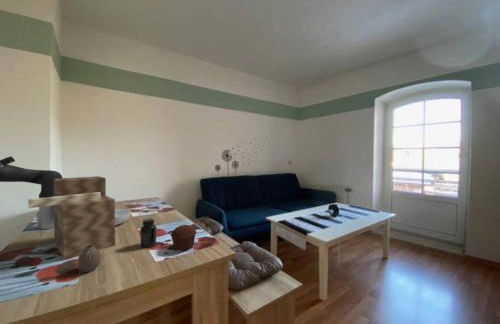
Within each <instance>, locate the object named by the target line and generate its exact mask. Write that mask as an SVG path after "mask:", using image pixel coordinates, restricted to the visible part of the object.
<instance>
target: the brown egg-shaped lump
mask: <svg viewBox="0 0 500 324" xmlns="http://www.w3.org/2000/svg"><path fill="white" fill-rule="evenodd" d="M101 260H102V254H101V252H100V250H97V249H96V248H95V247H94V246H93V245H89V246H86V247H85V249H84V250H83V252H82V253H81V254H80V256H78V258H77V264H76V265H77V268H78V270H79V271H81V272H82V273H89V272H93V271H95V270H96V269H97V268H98V267H99V266H100V264H101Z"/></svg>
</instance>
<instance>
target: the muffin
mask: <svg viewBox="0 0 500 324" xmlns="http://www.w3.org/2000/svg"><path fill="white" fill-rule="evenodd" d="M196 235H197V230H196V229H195V227H194V226H192V225H190V224H181V225H179V226H177V227H175V228H174V229H173V231H172V232H171V234H170V236H171V241H172V246H173V250H175V251H177V252H186V251H190V250H192V249H193V248H194V245H195V238H196Z"/></svg>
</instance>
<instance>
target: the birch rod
mask: <svg viewBox="0 0 500 324" xmlns="http://www.w3.org/2000/svg"><path fill="white" fill-rule="evenodd" d="M98 199H101V193H100V192H94V193H85V194H75V195H66V196H56V197H46V198H39V197H38V198H28V201H27V202H28V203H27V204H28V209H33V208H39V207H43V206H51V205H58V204H66V203H74V202H82V201H90V200H98Z"/></svg>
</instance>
